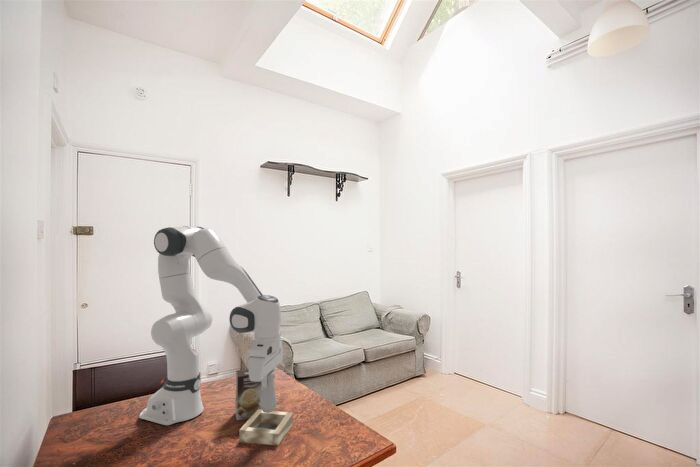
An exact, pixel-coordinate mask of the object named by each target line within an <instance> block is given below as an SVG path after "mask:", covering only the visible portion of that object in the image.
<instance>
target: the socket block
mask: <svg viewBox="0 0 700 467" xmlns="http://www.w3.org/2000/svg"><path fill="white" fill-rule="evenodd" d="M293 425H294V412H288V411H279V410H277V411H276V410H274V411H273V412H270V413H265V412H263V410H260V409H258V410H257V411H256V412H255V413H254V414H253V415H252V416H251V418H248V419H247V421H246V422H245V423H244V424H243V425H242V426H241V428H240V429H239V431H238V432H239V435H238V437H239V441H238V442H239V443H246V444H247V443H248V444H257V445H258V444H259V445H268V446H269V445H270V446H271V445H272V446H279V445H280V444H281V443H282V442H283V440H284V438H285V437H286V436H287V434H288V433H289V431H290V430H291V428H292V426H293Z"/></svg>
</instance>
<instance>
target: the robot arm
mask: <svg viewBox="0 0 700 467" xmlns="http://www.w3.org/2000/svg"><path fill="white" fill-rule="evenodd" d="M153 238H154V239H153V244H154V248H155V250H156V252H157V253H158V257H157V274H158V279H159V287H160V291H161V296H162V299H163V300H164V301H165V302H166V303H169V304H170V305H171V306H172V307H173V309H174V311H175V312H174V313H170V314H167V315H165V316H163V317H161V318H160V319H158V320H156V321H155V322H154V323H153V324H152V327H151V331H150V337H151V339H152V341H153V342H154V343H155V344H156V345H158V346H159V347H161V348H162V349H163V351H164V353H165V356H166V364H167V365H166V366H167V371H166V372H167V376H165V377H164V378H163V379H161V380H160V384H163V383H164V384H163V386H162V387H160V389H158V390H157V391H156V392H154V393H153V394H152V395H151V396H150V397H149V399H148V400H147V404H146V407H145V408H144V409H143V410H142V411H141V412H140V413H139V416H138V417H139V419H142V420H145V421H148V422H149V421H150V422H152V423H156V424H159V425H163V426H170V425H174V424H176V423H180V422H184V421H185V422H186V421H188V420H191V419H193V418H196V417H198V416H199V415H200V414H202V412H204V408H205V407H204V404H203V401H202V397H201V396H202V395H201V389H200V388H201V383H202V382H201V372H200V353H199V351H198V350H196V349H194V348H193V347H192V345H191V338H194V337H196V336H199V335H202V334H203V333H205V331H207V330H208V329H209V328H210V327H212V323H213V315H212V313H211V311H210V309H208V308H206V307H205V306H203V304H201V301H199V299H198V297H197V295H196V293H195V289H194V284H193V279H192V274H191V269H190V264H189V262H190V259H191V257H194V258H195V259H196V262H197V264H198V266H199V267H200V269H201V271H202V272H203V274H204V275H205V276H206V277H207V278H208V279H209V278H210V279H212V280H214V281H220V282H224V283H227V284H230V285H232V286H234V287H235V288H236V289H237V290H238V292H239V293H240V294H241V295H242V297H243V299H244V300H245V301H246V303H243V304H240V305H238V306H236V307H234V308H233V309H232V310H231V311H230V313H229V325H230V327H231V329H232V330H233V331H234V332H235V333H238V334H245V333H253V336H254V337H253V338H254V339H253V341H252V344H251V345H250V346H249V347H248V349H247V357H249V359H248V369H249V379H250V380H251V381H254V382H260V381H261V386H262V388H263V387H264V388H266V387H267V386H268V381H267V375H268V374H269V373H270V372H271V371H274V372H275V371H276V367H277V366H278V365H279V364H280V363H282V362H283V358H284V350H283V342H282V340H281V338H282V335H281V329H280V326H281V321H282V318H281V317H282V316H281V314H282V312H281V305H280V302H279V299H278V298H277V297H276V296H274V295H268V294H263V293H262V292H261V290H260V288H258V287H257V285H256V283H255V282H254V281H253V279H252V278H251V277H250V275H249V273H248V272H247V271H246V270H245V269H244V267H242V266H241V265H240V264H239V263H238V262H237V261H236V260H235V258H234V257H233V256H232V255H231V253H230V251H229V250H228V249H227V246H226V245H225V243H224V241H223V240H222V239H221V238H220V237H219V236H218V234H217V232H216V231H214V230H213V229H211V228H205V227H202V226H189V225H184V226H175V227H169V226H168V227H165V228H161V229H159V230H158V231H157V232H156V233H155V235H154V237H153Z"/></svg>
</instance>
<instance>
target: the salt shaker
mask: <svg viewBox="0 0 700 467" xmlns="http://www.w3.org/2000/svg"><path fill="white" fill-rule="evenodd" d="M275 378H276V373H275V372H274V371H271V372H270V373H269V374H268V375H267V381H268V386H267V387H266V388H264V387H262V394H261V399H260V407H261V408H262V410H263V412H265V413H270V412H273V411H275V408H276V406H277V404H278V399H277V392H276V386H275V381H274V380H275Z"/></svg>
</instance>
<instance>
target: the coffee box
mask: <svg viewBox="0 0 700 467" xmlns="http://www.w3.org/2000/svg"><path fill="white" fill-rule="evenodd" d="M235 372H236V374H235V375H236V376H235V418H236V419H235V420H236V421H240V420H248V419H250V418H251V416H252V415H253V414H254V413H255V412H256V411H257V410H258V409H260V410H262V408H261V407H260V399H261V394H262V388H263V387H262V386H261V381H260V382H254V381H251V380H250V379H249V368H247V369H239V370H236V371H235Z"/></svg>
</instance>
